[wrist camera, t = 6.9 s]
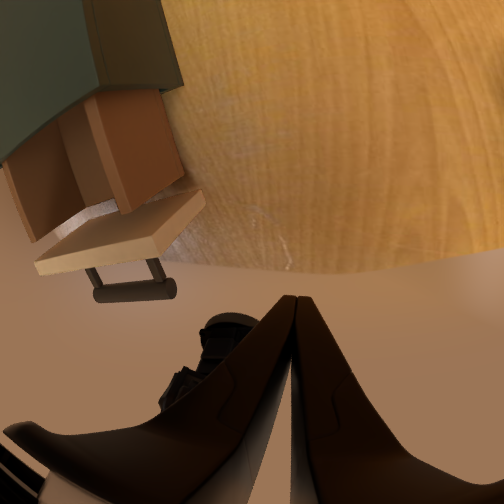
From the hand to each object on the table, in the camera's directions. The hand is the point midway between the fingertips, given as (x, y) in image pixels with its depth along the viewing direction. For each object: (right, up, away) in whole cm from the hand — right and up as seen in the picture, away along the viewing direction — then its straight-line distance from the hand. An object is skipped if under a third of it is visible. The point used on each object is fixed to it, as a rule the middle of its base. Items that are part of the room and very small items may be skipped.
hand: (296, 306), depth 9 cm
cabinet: (-14, +18, +7) cm, 24 cm away
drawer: (-11, +8, +11) cm, 18 cm away
